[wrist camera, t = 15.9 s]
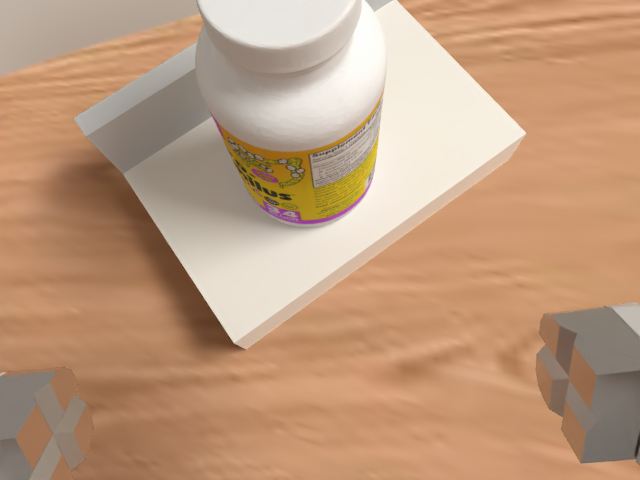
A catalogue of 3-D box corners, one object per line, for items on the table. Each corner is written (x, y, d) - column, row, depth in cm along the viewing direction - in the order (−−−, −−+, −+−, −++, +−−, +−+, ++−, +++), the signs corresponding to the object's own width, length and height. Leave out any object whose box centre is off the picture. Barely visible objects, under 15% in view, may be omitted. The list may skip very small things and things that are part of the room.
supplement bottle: (221, 156, 27) (115, -46, 15) (326, 91, 28) (308, -151, 16) (291, 258, 25) (236, 123, 13) (401, 185, 26) (447, -7, 14)
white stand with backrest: (246, 349, 27) (212, 332, 20) (134, 180, 30) (73, 117, 24) (509, 159, 29) (556, 88, 23) (379, 22, 33) (386, -76, 26)
